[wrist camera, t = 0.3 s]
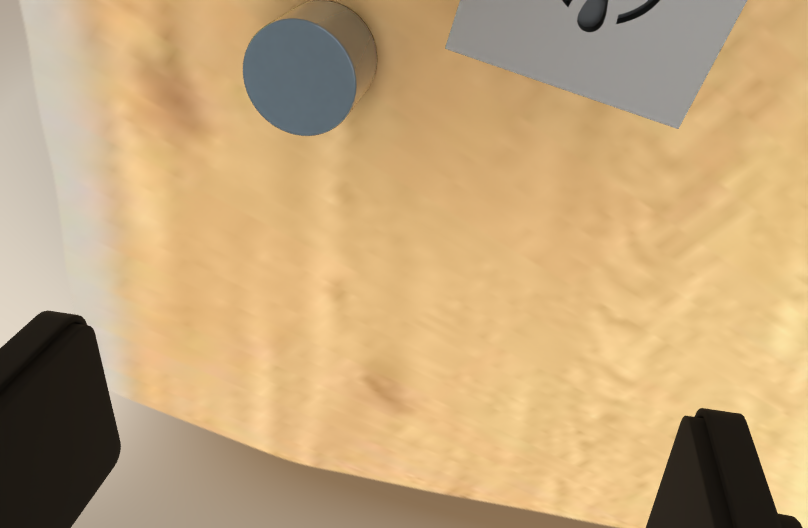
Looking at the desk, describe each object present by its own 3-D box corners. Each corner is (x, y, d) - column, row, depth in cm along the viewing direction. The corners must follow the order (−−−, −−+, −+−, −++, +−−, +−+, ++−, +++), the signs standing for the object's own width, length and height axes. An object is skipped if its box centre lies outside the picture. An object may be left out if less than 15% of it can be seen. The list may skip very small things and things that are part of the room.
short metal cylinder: (271, -4, 39) (237, 14, 34) (378, 3, 38) (356, 23, 33) (278, 102, 42) (247, 130, 37) (376, 111, 41) (356, 141, 37)
